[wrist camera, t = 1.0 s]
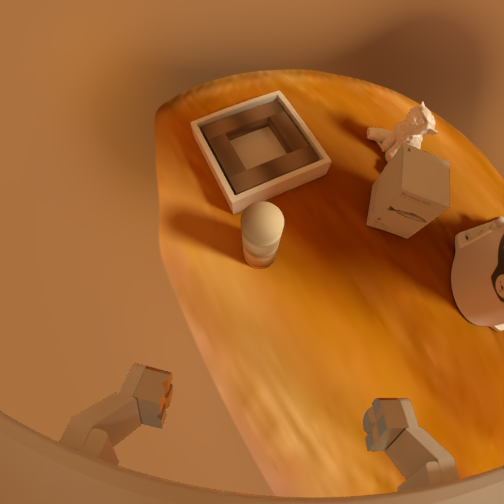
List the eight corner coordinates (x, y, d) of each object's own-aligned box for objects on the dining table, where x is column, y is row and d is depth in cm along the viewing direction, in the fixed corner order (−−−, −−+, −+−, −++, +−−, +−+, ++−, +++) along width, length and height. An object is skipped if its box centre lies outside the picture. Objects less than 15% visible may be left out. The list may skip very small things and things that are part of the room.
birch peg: (266, 232, 44) (271, 194, 33) (281, 260, 43) (291, 230, 32) (238, 246, 44) (233, 211, 32) (252, 274, 43) (252, 249, 31)
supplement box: (364, 226, 45) (399, 187, 32) (371, 184, 47) (402, 139, 34) (407, 241, 44) (450, 209, 32) (412, 199, 46) (450, 160, 34)
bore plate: (275, 109, 50) (276, 100, 47) (315, 168, 46) (318, 159, 44) (203, 136, 48) (201, 127, 46) (237, 201, 45) (236, 193, 42)
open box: (278, 105, 51) (279, 90, 47) (326, 174, 47) (331, 161, 43) (193, 137, 49) (190, 122, 45) (233, 214, 45) (231, 203, 41)
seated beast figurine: (362, 132, 49) (384, 86, 38) (401, 127, 50) (426, 85, 39) (385, 179, 47) (416, 137, 35) (424, 171, 48) (457, 133, 36)
